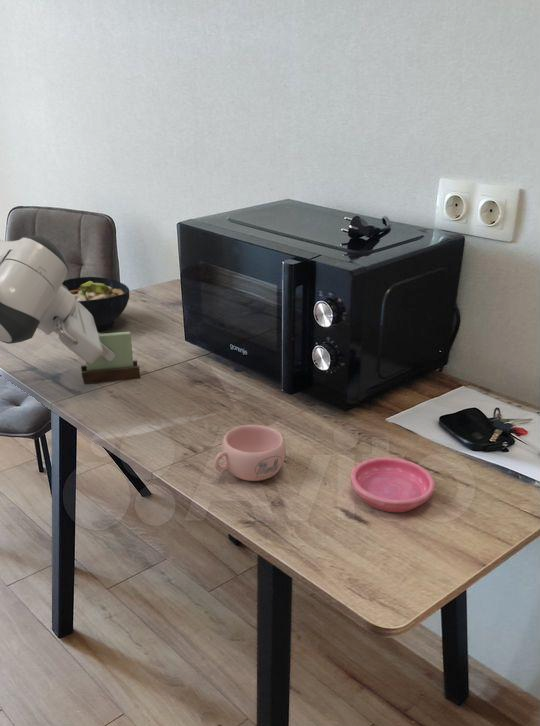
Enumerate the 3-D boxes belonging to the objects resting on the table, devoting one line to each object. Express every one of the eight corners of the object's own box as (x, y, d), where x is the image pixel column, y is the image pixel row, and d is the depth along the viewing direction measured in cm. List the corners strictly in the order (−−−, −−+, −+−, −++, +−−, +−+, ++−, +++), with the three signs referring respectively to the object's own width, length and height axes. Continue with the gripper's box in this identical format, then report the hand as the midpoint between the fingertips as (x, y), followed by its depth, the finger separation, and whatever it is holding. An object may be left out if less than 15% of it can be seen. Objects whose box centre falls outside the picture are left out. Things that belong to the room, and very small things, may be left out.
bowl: (74, 344, 154) (68, 299, 148) (45, 321, 165) (39, 279, 160) (144, 329, 162) (141, 287, 157) (112, 308, 174) (108, 268, 168)
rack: (83, 384, 137) (82, 372, 136) (82, 376, 140) (80, 365, 139) (140, 378, 140) (139, 367, 139) (137, 371, 143) (136, 360, 141)
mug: (263, 449, 117) (264, 418, 114) (297, 477, 110) (298, 444, 107) (199, 468, 112) (198, 435, 109) (230, 498, 105) (230, 464, 102)
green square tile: (88, 381, 138) (82, 337, 133) (87, 378, 139) (82, 335, 134) (134, 376, 141) (130, 333, 136) (133, 374, 142) (129, 331, 137)
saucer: (449, 505, 105) (452, 487, 103) (382, 528, 99) (385, 510, 98) (397, 466, 114) (399, 449, 112) (333, 485, 108) (334, 468, 107)
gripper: (67, 315, 121) (129, 363, 128) (60, 280, 137) (116, 324, 145) (44, 342, 122) (107, 388, 130) (40, 304, 138) (96, 347, 146)
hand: (111, 354), depth 137 cm, fingers closed
